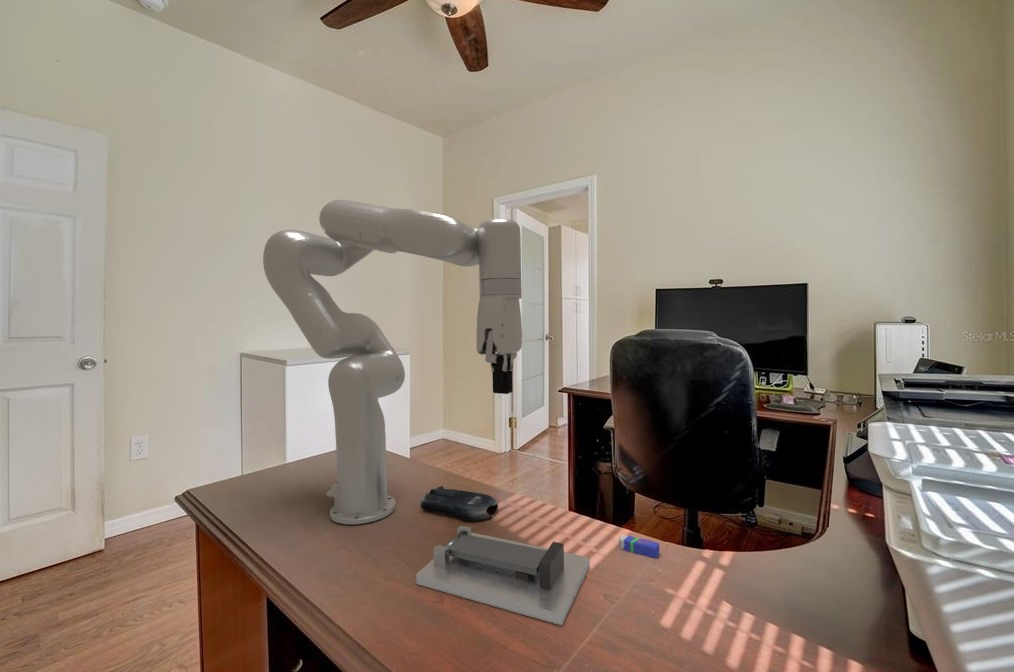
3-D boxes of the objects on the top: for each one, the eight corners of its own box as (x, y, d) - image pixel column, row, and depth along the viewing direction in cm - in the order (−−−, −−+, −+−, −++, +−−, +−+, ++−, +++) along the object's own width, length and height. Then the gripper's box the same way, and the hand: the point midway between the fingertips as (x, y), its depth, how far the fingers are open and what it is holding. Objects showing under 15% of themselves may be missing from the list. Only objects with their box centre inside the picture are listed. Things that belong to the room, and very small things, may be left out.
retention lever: (441, 555, 67) (440, 546, 67) (458, 540, 71) (457, 531, 71) (536, 577, 60) (536, 567, 60) (548, 558, 65) (548, 549, 65)
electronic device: (418, 522, 87) (485, 524, 81) (416, 494, 87) (482, 493, 82) (443, 510, 95) (505, 510, 89) (441, 484, 96) (503, 482, 90)
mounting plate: (416, 584, 63) (415, 550, 63) (465, 539, 76) (464, 511, 76) (561, 625, 54) (561, 586, 54) (589, 566, 67) (589, 534, 67)
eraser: (623, 545, 74) (622, 533, 74) (659, 554, 70) (659, 542, 70) (619, 550, 72) (619, 538, 72) (656, 560, 69) (656, 547, 69)
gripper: (499, 293, 86) (501, 386, 87) (460, 289, 73) (463, 398, 73) (535, 292, 83) (537, 387, 84) (501, 287, 69) (503, 401, 70)
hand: (502, 392), depth 78 cm, fingers closed
